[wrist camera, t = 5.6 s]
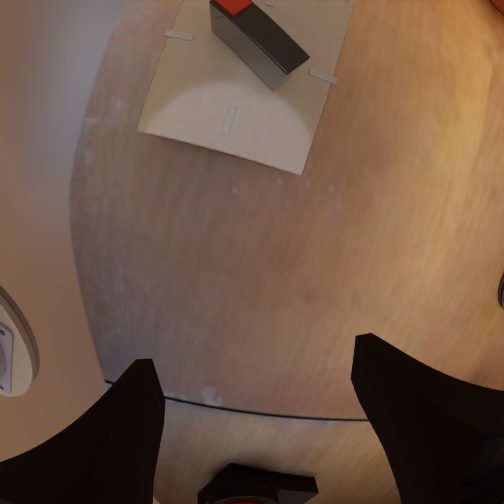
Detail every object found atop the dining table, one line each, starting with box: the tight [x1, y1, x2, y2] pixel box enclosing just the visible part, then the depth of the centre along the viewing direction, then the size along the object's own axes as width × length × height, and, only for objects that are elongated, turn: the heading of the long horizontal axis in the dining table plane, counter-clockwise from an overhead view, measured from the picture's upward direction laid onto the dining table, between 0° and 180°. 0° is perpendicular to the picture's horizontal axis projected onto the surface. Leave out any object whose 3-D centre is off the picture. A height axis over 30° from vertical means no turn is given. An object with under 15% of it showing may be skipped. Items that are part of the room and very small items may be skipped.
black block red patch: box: [209, 0, 310, 91], centre depth 11 cm, size 4×1×4 cm, turn 42°
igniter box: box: [198, 463, 319, 504], centre depth 25 cm, size 11×9×4 cm
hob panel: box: [137, 0, 354, 176], centre depth 14 cm, size 10×8×3 cm
